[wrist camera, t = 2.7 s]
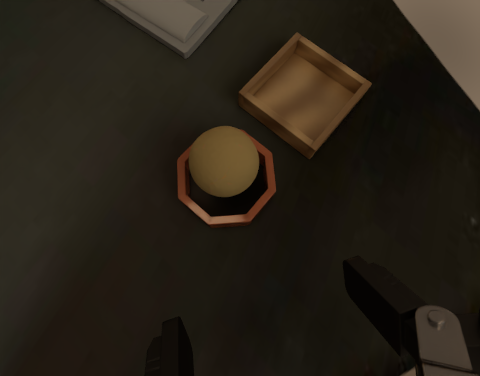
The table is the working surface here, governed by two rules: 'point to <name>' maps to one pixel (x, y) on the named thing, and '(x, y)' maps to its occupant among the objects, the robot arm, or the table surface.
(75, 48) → the table surface
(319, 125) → the tray
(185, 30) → the office telephone
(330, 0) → the table surface
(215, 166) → the light bulb
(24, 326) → the table surface
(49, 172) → the table surface
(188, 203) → the orange octagonal ring
